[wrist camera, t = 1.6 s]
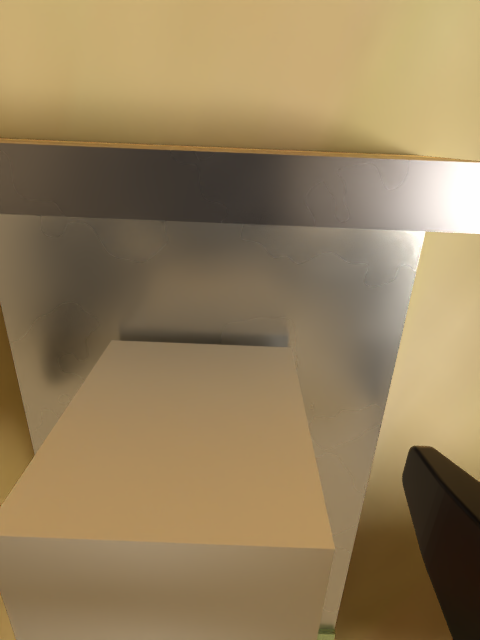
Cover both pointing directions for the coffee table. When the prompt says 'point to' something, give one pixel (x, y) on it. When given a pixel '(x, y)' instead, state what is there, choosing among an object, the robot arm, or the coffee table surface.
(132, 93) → the coffee table surface
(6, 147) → the gray display stand
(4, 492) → the coffee table surface
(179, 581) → the cream rectangular block
